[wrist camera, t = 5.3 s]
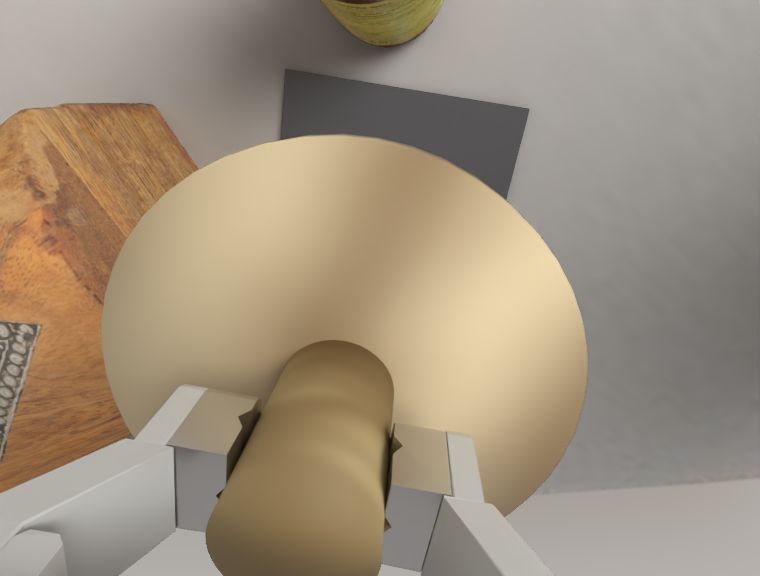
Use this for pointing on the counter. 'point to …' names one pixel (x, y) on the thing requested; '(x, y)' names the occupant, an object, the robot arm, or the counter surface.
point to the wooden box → (68, 269)
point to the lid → (345, 336)
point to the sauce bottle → (385, 18)
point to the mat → (409, 121)
